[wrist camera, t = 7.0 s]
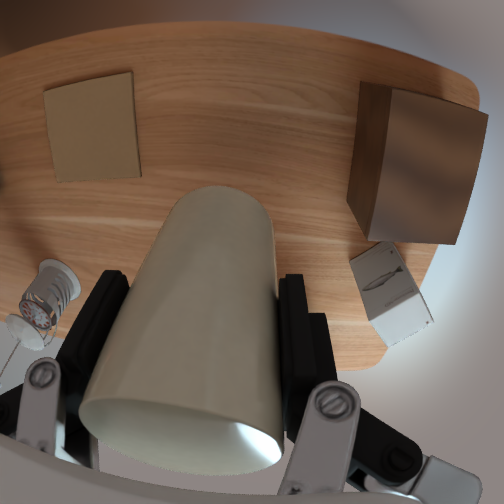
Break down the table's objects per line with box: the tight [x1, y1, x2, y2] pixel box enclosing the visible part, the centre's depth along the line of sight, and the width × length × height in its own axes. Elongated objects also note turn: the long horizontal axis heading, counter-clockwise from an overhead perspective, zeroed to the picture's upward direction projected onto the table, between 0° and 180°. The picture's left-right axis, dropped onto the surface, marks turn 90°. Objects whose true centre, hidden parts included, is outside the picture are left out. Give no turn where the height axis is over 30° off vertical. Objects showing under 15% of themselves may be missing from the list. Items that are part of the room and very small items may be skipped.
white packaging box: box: [349, 241, 434, 347], centre depth 40 cm, size 7×7×13 cm
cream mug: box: [78, 186, 284, 475], centre depth 11 cm, size 7×5×10 cm
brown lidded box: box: [346, 81, 488, 245], centre depth 31 cm, size 16×12×10 cm
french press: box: [0, 259, 81, 388], centre depth 40 cm, size 10×12×25 cm
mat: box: [43, 72, 142, 183], centre depth 35 cm, size 14×14×1 cm
